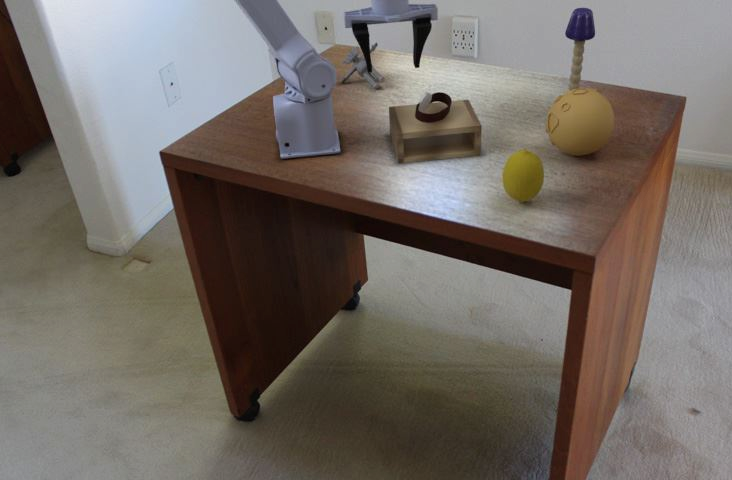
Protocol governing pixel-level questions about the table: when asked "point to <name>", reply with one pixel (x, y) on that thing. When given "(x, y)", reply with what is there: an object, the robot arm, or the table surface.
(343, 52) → the table surface
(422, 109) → the watch
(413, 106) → the shelf
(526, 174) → the lemon
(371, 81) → the gray toy figurine
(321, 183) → the table surface
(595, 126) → the stress ball
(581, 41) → the toy lamp
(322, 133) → the robot arm
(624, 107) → the table surface
